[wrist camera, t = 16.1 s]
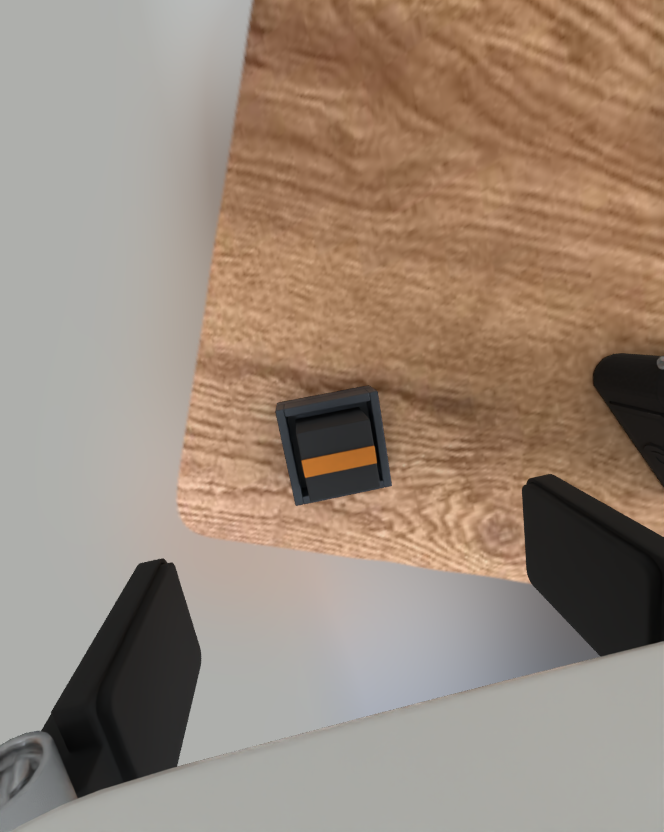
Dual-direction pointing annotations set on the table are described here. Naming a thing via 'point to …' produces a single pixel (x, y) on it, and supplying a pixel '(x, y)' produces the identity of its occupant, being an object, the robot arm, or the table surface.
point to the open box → (323, 404)
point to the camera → (636, 401)
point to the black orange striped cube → (337, 453)
